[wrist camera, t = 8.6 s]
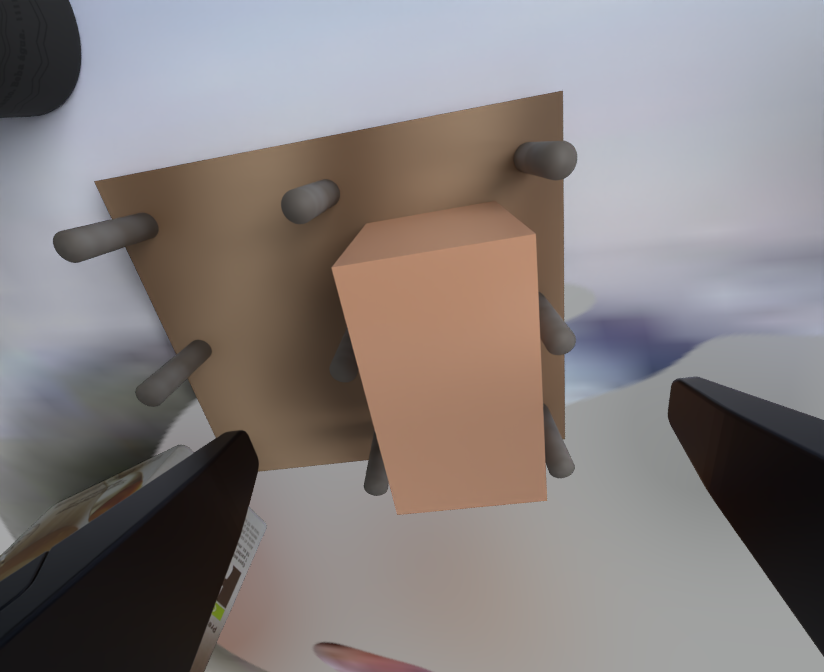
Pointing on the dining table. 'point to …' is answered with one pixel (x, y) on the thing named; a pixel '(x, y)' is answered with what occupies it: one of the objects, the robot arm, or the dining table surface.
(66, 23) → the drinking cup
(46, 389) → the dining table surface
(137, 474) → the coffee box
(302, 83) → the dining table surface
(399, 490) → the peach rectangular block
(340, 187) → the brown peg board
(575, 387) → the dining table surface
